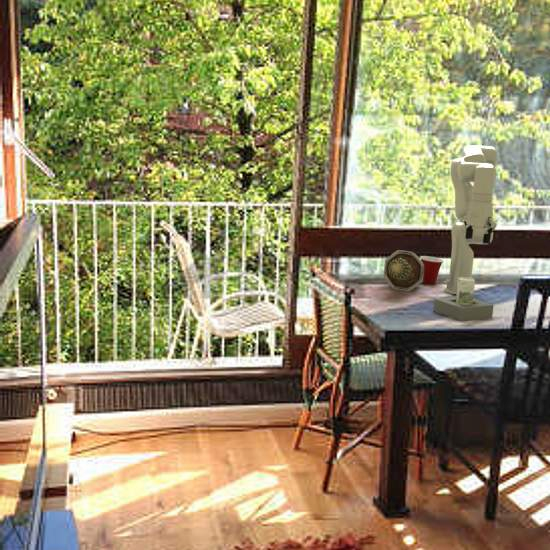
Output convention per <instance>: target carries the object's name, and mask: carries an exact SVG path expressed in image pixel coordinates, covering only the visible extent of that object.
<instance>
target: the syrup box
mask: <svg viewBox="0 0 550 550" xmlns="http://www.w3.org/2000/svg"><path fill="white" fill-rule="evenodd" d="M475 285H476V281H475V279H474V278H473V277H472V278H468V277H458V284H457V293H456V295H455V296H456V303H459V304H462V305H469V304H473V299H474V293H475V287H476V286H475Z"/></svg>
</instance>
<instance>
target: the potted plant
mask: <svg viewBox="0 0 550 550" xmlns="http://www.w3.org/2000/svg"><path fill="white" fill-rule="evenodd" d="M383 267H384V268H383V278H384V280H385V281H386V282H387V283H388V285H389V286H390V287H391V288H392V289H393V290H396V291H402V290H403V292H411V291H413V290H414V289H415V288H416V287H418V286H419V285H420V284H421V283H423V274H424V264H423V262H422V261H421V258H420V257H419V256H417V254H416V253H414V252H413V251H408V250H400V249H398V250H396V251H394V252H393V253H391V255H389V256H388V257H386V258H385V260H384V265H383Z"/></svg>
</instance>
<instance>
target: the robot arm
mask: <svg viewBox="0 0 550 550" xmlns="http://www.w3.org/2000/svg"><path fill="white" fill-rule="evenodd" d="M497 162H498V152H497V149H496V148H495V147H493V146H489V145H488V146H487V145H469V146H467V147H465V148H464V149H463V150H462V153H461V157H460V158H459V157H458V158H456V159H453V160H452V162H451V164H450V178H451V182H452V185H453V188H454V214H455V216H456V218H457V219H458V220H461V221H456V222H454V223H453V225H452V226H451V255H450V266H449V275H448V276H449V277H448V278H447V279H446V280H444V281H443V285H446V287H444V292H445V293H447V294H450V295H454V294H456V293H457V284H458V277H468V278H473V277H472V276H473V269H474V268H473V266H474V255H475V254H474V250H472V248H471V247H470V245H471V244H472V245H473V244H475V245H489V244H491V243H492V241H493V239H494V231H495V230H496V228H497V226H498V224H497V222H495V220H494V208H493V207H494V206H493V193H494V185H495V179H496V175H497V168H496V165H497ZM472 183H473V184H472Z"/></svg>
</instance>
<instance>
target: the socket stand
mask: <svg viewBox="0 0 550 550" xmlns="http://www.w3.org/2000/svg"><path fill="white" fill-rule="evenodd" d="M433 300H434V301H433V309H432V311H433V312H434V311H435V313H438V314H440V315H443V316H446V317H449V318H452V319H454V320H457V321H460V322H468V321H474V320H483V319H488V318H490V319H491V318H493V316H494V315H493V314H494V304H491V303H489V302H486V301H483V300H480V299H477V298H473V304H469V305H462V304H459V303H456V295H455V296H450V297H449V296H448V297H438V298H434V299H433Z"/></svg>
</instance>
